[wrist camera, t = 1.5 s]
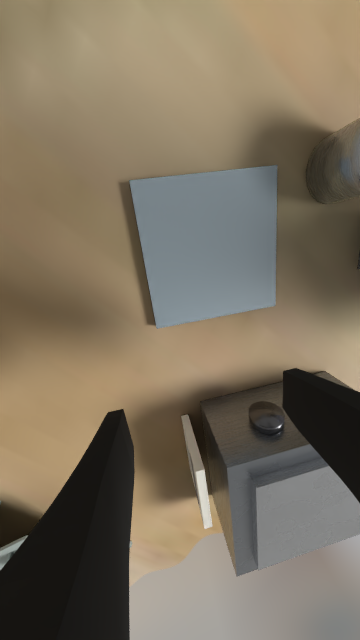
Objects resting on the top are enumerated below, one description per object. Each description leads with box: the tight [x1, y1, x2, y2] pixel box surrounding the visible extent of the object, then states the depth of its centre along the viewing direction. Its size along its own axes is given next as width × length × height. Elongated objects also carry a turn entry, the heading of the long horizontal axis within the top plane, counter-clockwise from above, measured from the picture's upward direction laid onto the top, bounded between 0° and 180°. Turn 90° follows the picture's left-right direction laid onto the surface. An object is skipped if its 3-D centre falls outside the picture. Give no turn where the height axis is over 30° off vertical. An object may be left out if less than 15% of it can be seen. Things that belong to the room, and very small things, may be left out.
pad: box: [129, 165, 277, 329], centre depth 14 cm, size 9×9×1 cm
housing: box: [200, 371, 360, 576], centre depth 18 cm, size 12×13×7 cm
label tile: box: [181, 414, 212, 529], centre depth 17 cm, size 1×6×5 cm, turn 8°
